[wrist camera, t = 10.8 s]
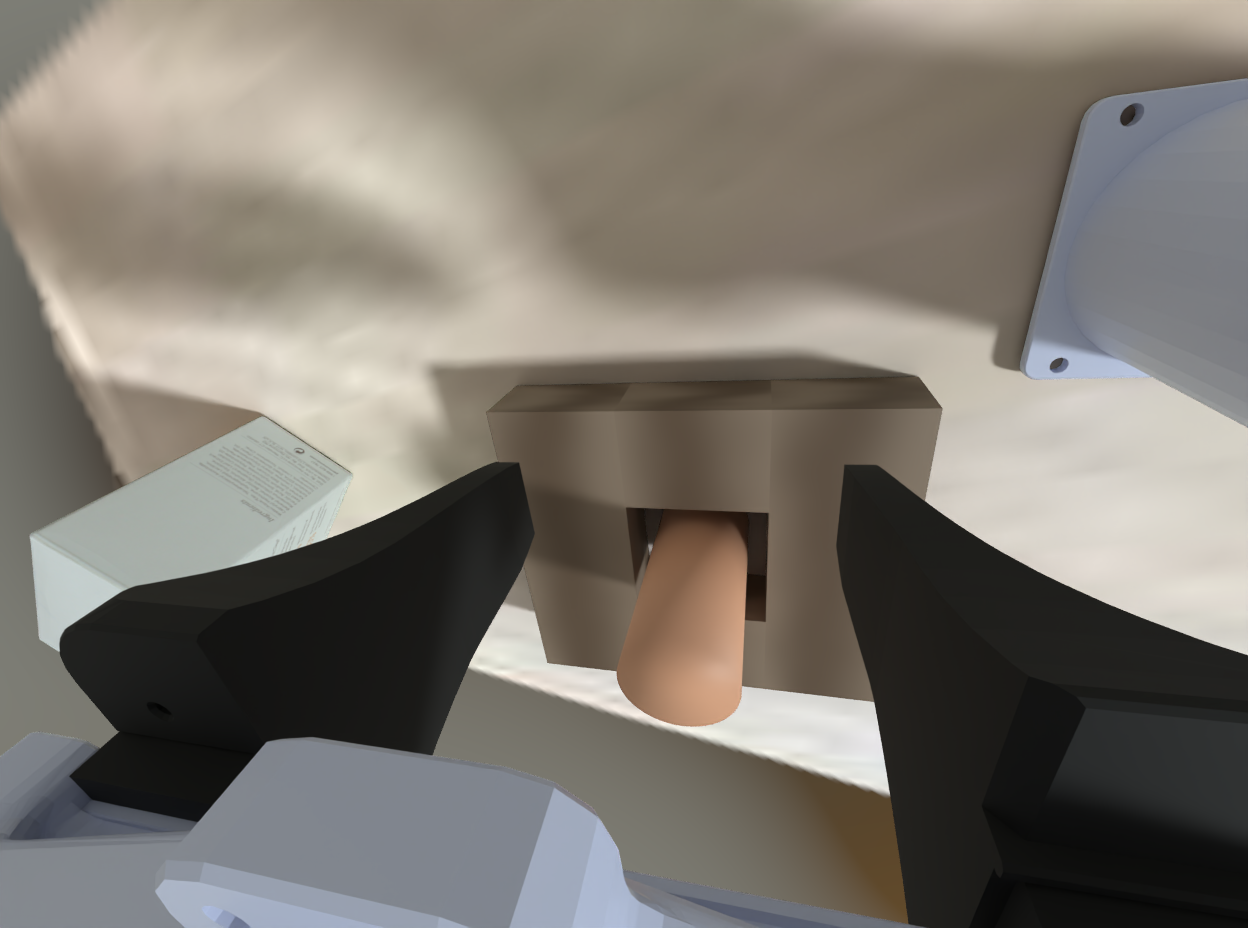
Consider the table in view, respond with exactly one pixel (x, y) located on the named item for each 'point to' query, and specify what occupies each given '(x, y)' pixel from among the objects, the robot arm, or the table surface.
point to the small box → (187, 521)
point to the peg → (689, 620)
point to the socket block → (707, 504)
